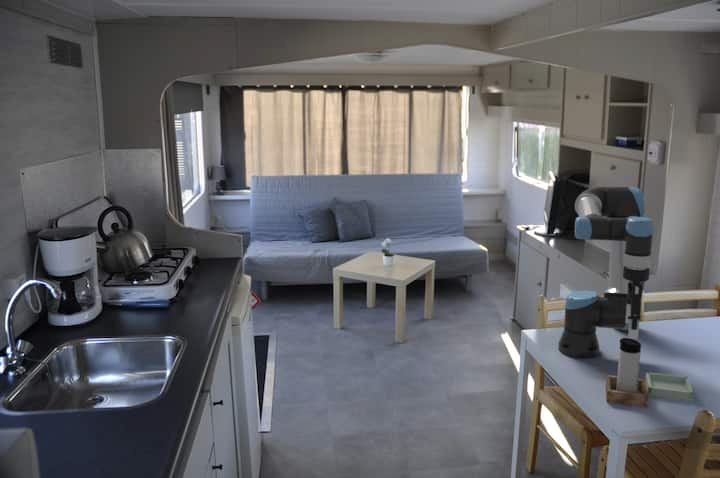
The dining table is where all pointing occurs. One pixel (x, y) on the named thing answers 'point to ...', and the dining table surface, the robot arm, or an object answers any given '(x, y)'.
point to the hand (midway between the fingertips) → (631, 330)
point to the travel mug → (628, 365)
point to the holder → (626, 393)
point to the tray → (668, 386)
